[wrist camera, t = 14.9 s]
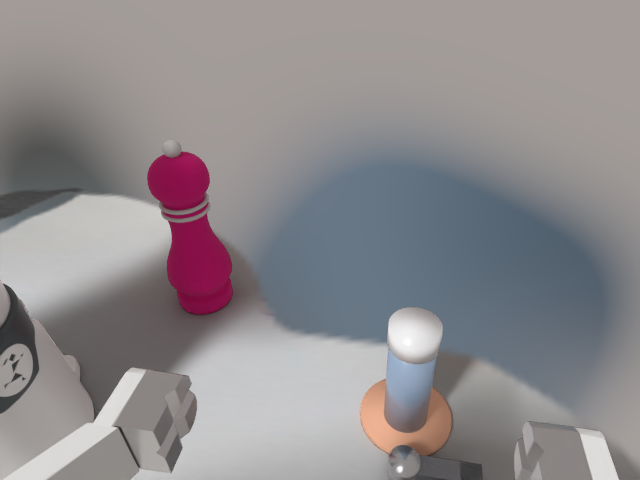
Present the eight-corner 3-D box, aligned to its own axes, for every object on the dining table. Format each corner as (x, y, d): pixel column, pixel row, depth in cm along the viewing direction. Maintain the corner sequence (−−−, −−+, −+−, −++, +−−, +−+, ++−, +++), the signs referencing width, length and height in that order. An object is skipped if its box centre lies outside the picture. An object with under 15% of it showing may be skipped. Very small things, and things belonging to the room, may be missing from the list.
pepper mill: (237, 274, 59) (210, 123, 47) (236, 314, 53) (205, 152, 41) (179, 281, 58) (138, 129, 47) (172, 321, 52) (122, 159, 41)
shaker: (380, 430, 40) (387, 342, 34) (384, 392, 43) (390, 304, 37) (428, 437, 39) (443, 348, 33) (428, 397, 42) (441, 310, 36)
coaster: (355, 450, 39) (355, 448, 39) (365, 374, 45) (365, 371, 45) (453, 466, 38) (453, 463, 37) (449, 385, 44) (449, 382, 44)
